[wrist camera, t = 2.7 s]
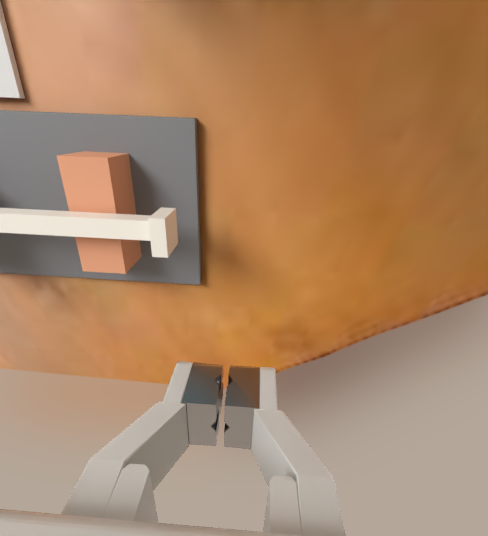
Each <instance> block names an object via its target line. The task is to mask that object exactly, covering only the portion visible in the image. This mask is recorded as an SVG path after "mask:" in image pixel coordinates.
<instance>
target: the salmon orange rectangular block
mask: <svg viewBox="0 0 488 536" xmlns="http://www.w3.org/2000/svg"><path fill="white" fill-rule="evenodd" d="M57 160H58V164H59V169H60V173H61V178H62V182H63V186H64V191H65V195H66V199H67V204H68V208H69V211H74V212H93V213H113V214H132V215H136V207H135V199H134V191H133V183H132V176H131V168H130V160H129V153H111V152H88V151H83V152H77V153H70V154H64V155H57ZM75 239H76V243H77V247H78V252H79V256H80V261H81V265H82V269H83V271H87V272H103V273H120V274H126V273H127V272H128V271H129V270H130V269H131V267H132V266H133V265H134V264H135V263H136V262H137V261H138V260H139V259H140V258H141V257H142V254H141V246H140V240H126V239H108V238H90V237H75Z"/></svg>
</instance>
